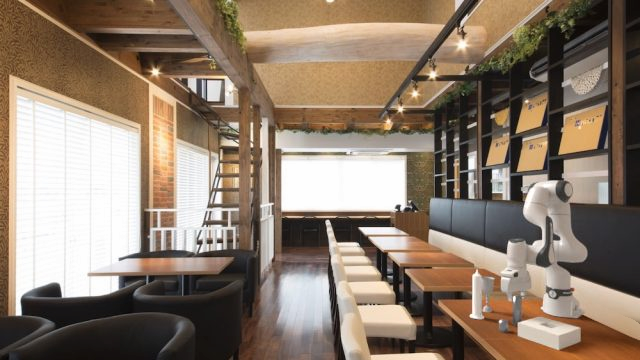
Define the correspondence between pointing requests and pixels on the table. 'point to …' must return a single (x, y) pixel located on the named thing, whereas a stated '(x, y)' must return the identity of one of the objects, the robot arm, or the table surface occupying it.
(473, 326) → the table surface
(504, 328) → the short pin
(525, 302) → the table surface
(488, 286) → the chalice
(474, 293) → the candle
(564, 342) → the hole block
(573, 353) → the table surface
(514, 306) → the long pin
